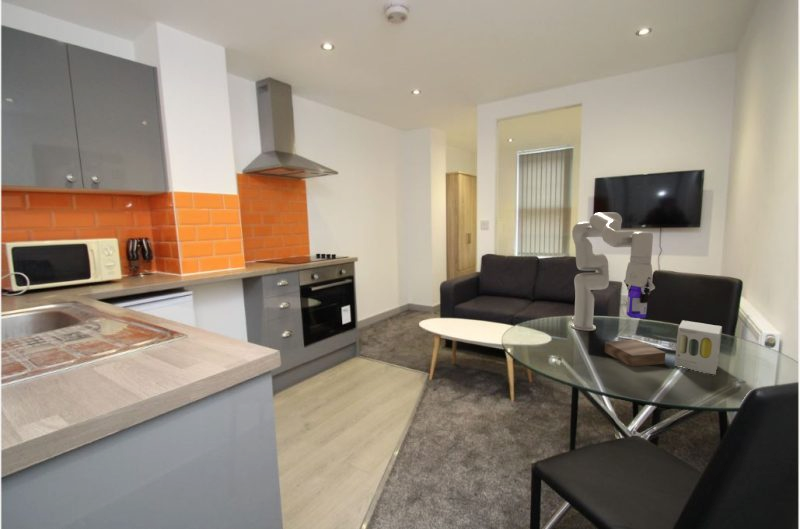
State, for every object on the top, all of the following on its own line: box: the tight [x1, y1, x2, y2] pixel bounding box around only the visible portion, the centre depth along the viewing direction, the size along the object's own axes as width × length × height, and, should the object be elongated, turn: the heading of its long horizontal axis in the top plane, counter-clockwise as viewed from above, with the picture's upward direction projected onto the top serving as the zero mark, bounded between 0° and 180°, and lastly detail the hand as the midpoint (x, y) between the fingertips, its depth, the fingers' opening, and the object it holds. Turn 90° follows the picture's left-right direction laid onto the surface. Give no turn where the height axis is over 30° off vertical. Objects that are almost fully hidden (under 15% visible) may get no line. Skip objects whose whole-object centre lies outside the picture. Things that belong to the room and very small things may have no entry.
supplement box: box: [674, 319, 723, 375], centre depth 147 cm, size 13×13×18 cm
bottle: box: [626, 286, 648, 319], centre depth 154 cm, size 7×6×17 cm
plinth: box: [604, 339, 666, 368], centre depth 158 cm, size 16×16×5 cm
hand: (637, 300), depth 154 cm, fingers closed on bottle, 5 cm apart
